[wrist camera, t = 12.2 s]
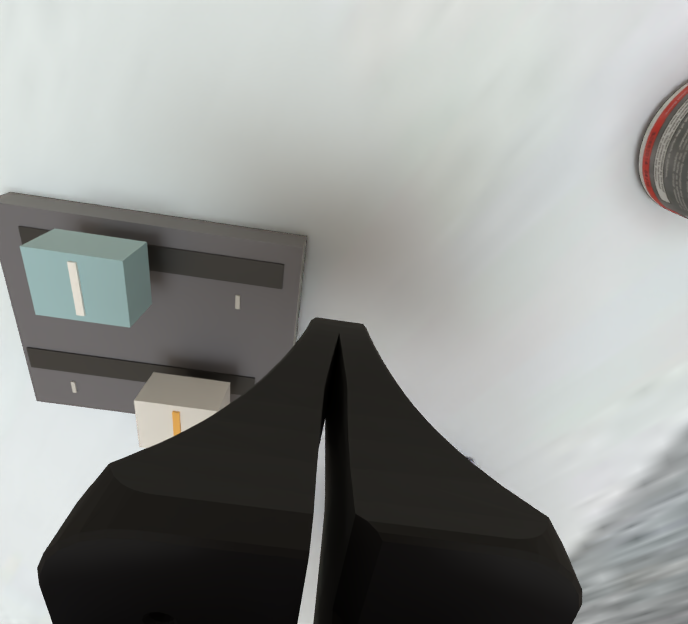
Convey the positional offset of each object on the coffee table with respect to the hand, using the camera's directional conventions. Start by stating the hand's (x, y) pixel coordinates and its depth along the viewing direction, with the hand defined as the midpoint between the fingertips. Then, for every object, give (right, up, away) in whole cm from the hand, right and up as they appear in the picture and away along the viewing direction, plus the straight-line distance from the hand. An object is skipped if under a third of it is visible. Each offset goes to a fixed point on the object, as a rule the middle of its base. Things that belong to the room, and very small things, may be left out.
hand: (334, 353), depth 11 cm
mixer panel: (-9, +1, +11) cm, 14 cm away
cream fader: (-7, -3, +11) cm, 13 cm away
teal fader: (-10, +4, +8) cm, 13 cm away
